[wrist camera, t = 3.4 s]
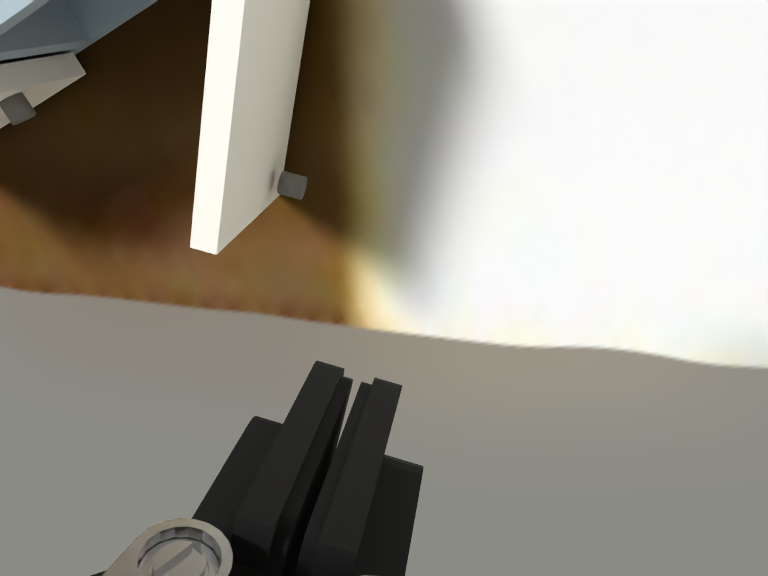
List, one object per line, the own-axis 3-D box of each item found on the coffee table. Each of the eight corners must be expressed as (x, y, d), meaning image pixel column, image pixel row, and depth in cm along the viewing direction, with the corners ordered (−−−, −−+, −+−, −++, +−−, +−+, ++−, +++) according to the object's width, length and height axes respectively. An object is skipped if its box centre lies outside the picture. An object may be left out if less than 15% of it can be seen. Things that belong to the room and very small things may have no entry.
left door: (298, -82, 25) (214, -106, 17) (358, -66, 24) (297, -85, 17) (261, 187, 30) (183, 252, 22) (311, 200, 29) (248, 270, 22)
